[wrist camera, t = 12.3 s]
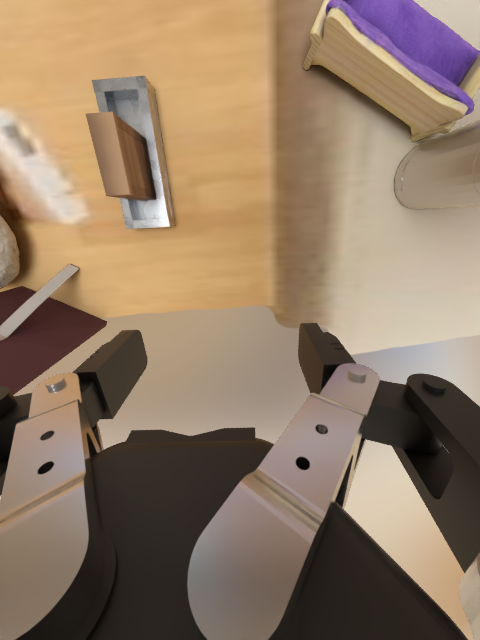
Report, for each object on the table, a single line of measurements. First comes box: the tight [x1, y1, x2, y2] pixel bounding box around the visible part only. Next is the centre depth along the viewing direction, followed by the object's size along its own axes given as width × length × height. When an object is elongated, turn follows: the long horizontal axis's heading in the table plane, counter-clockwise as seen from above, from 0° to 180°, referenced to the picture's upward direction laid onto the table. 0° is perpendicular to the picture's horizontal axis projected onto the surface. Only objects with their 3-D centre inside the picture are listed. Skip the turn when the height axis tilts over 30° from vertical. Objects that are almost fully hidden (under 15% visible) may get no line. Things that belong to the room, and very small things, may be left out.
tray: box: [92, 76, 175, 229], centre depth 35 cm, size 7×18×4 cm, turn 3°
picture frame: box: [0, 264, 107, 395], centre depth 34 cm, size 17×10×25 cm, turn 63°
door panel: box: [86, 112, 157, 201], centre depth 32 cm, size 3×8×10 cm, turn 3°
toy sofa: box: [303, 0, 480, 142], centre depth 28 cm, size 21×9×10 cm, turn 64°
